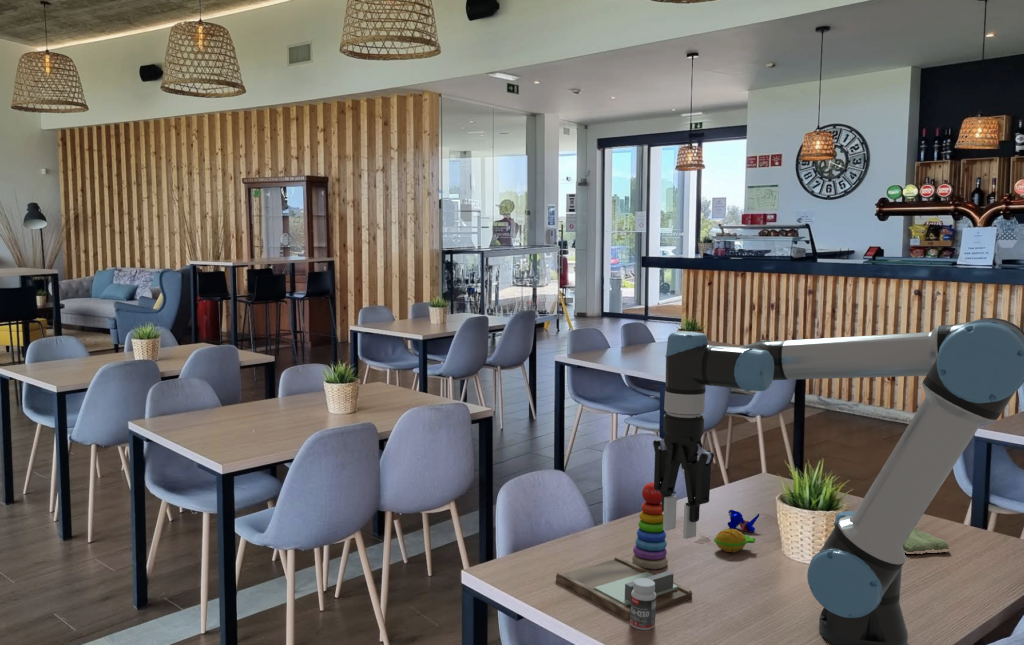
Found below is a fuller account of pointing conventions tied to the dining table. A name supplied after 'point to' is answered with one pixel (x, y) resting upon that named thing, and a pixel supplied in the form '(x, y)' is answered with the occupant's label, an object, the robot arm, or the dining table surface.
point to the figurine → (740, 521)
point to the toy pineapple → (732, 540)
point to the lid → (624, 587)
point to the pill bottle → (643, 604)
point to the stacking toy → (651, 532)
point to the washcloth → (923, 542)
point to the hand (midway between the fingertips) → (679, 532)
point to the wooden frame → (611, 572)
